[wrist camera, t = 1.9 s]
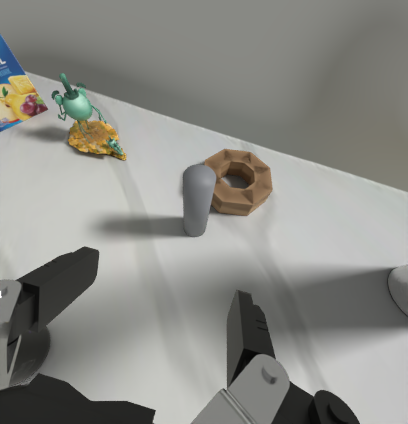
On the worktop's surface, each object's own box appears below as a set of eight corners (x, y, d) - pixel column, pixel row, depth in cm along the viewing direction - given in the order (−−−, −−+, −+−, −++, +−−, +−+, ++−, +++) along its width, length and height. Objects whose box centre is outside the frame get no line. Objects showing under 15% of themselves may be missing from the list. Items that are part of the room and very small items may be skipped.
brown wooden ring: (262, 167, 45) (268, 154, 41) (266, 218, 38) (274, 207, 35) (204, 160, 44) (206, 146, 41) (199, 210, 38) (200, 198, 34)
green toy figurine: (94, 177, 40) (46, 102, 27) (62, 136, 47) (12, 62, 35) (136, 156, 43) (110, 81, 31) (100, 121, 51) (67, 49, 39)
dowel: (206, 218, 37) (217, 166, 25) (204, 238, 35) (215, 192, 23) (185, 215, 37) (185, 162, 25) (182, 235, 35) (180, 188, 23)
